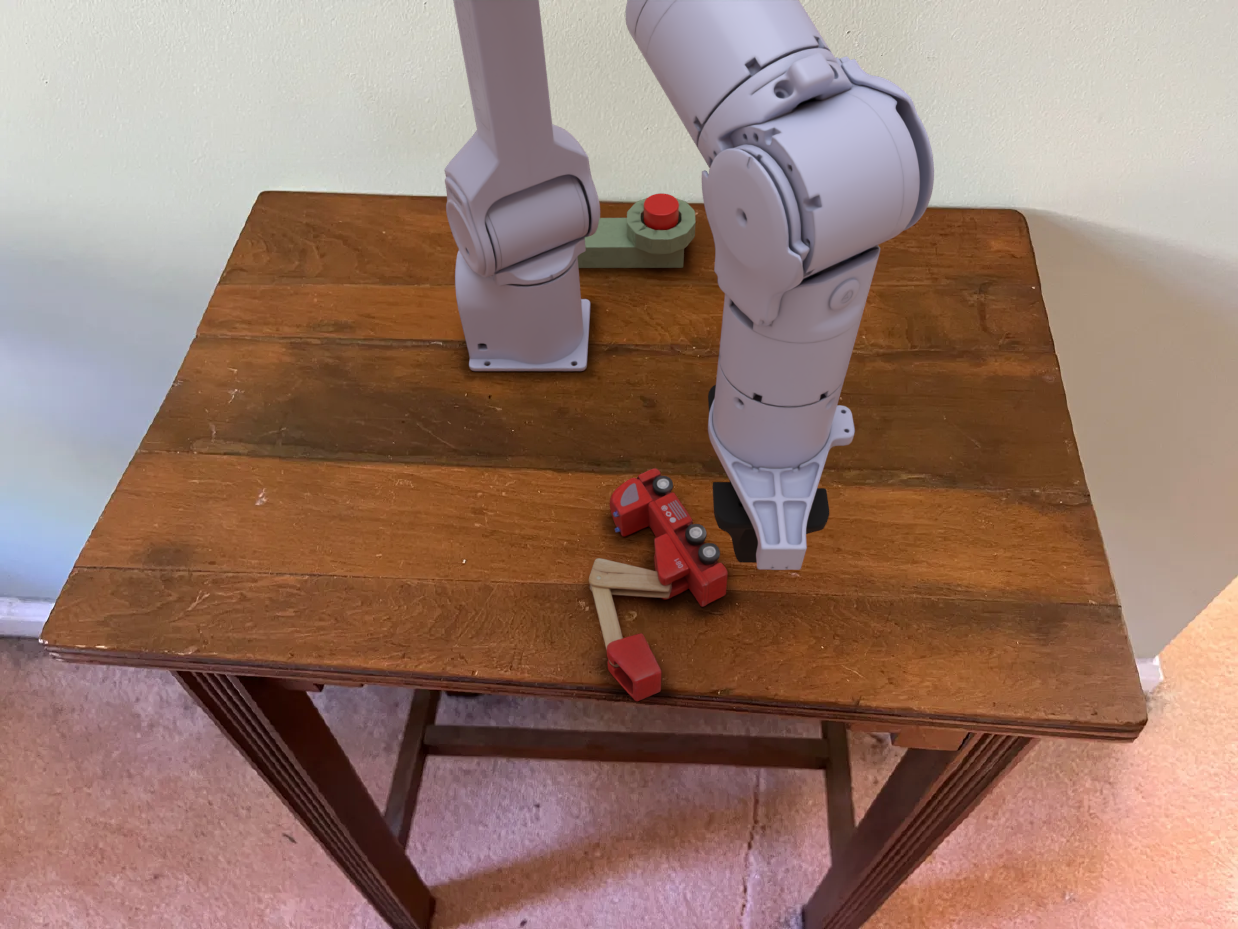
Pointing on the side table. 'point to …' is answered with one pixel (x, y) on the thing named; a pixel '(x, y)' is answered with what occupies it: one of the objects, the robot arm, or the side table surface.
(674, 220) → the button
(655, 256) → the button box
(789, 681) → the side table surface
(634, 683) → the toy fire truck
